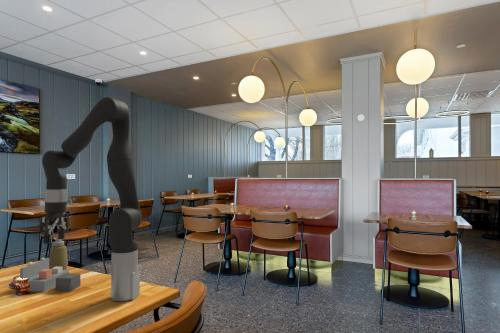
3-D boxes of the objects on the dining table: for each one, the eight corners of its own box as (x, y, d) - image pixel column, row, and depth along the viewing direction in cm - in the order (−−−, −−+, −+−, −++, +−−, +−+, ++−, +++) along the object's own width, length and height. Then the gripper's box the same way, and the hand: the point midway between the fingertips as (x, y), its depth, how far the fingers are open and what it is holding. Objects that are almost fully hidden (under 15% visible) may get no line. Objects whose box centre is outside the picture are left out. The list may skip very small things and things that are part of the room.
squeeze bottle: (61, 275, 143) (62, 235, 143) (43, 275, 143) (44, 235, 144) (71, 270, 151) (72, 232, 151) (55, 270, 151) (55, 232, 152)
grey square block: (80, 285, 129) (81, 273, 129) (70, 291, 123) (71, 278, 123) (65, 285, 129) (65, 273, 130) (54, 291, 123) (54, 278, 123)
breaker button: (51, 278, 129) (51, 269, 129) (46, 281, 125) (46, 271, 126) (44, 278, 129) (44, 268, 129) (38, 281, 126) (38, 271, 126)
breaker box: (68, 279, 137) (69, 255, 138) (44, 291, 122) (44, 265, 123) (46, 278, 138) (46, 255, 138) (19, 291, 123) (19, 265, 123)
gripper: (53, 202, 118) (51, 245, 118) (75, 199, 132) (74, 237, 132) (33, 201, 118) (32, 244, 118) (58, 199, 133) (56, 237, 132)
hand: (54, 241), depth 125 cm, fingers open, 8 cm apart
